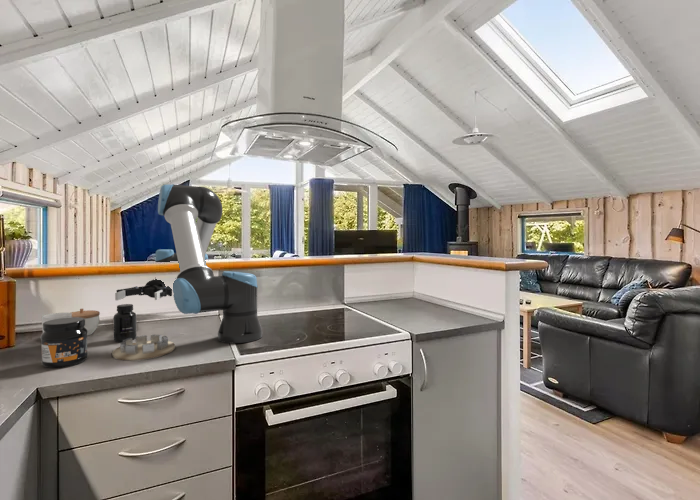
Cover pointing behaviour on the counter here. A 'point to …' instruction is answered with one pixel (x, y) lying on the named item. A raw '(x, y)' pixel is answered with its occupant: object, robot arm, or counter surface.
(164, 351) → the seat plate
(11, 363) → the counter surface
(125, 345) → the castellated ring
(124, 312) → the supplement bottle
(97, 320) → the lidded jar
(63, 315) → the white cup
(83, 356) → the supplement container
